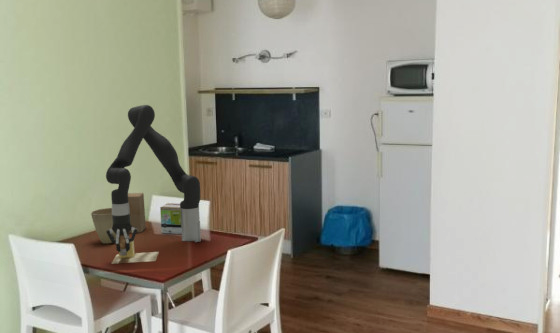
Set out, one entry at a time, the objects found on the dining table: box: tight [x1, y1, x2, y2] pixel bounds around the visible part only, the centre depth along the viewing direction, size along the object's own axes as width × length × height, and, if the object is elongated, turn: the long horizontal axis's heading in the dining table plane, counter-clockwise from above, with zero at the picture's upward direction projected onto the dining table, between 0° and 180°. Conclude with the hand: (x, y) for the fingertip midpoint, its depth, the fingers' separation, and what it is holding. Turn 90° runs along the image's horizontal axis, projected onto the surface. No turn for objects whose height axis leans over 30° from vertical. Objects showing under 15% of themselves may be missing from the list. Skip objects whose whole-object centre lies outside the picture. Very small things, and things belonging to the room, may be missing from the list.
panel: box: [111, 251, 160, 265], centre depth 251 cm, size 19×14×1 cm
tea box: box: [159, 202, 182, 235], centre depth 298 cm, size 15×10×15 cm, turn 77°
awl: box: [119, 235, 127, 256], centre depth 246 cm, size 3×3×9 cm
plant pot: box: [90, 207, 116, 244], centre depth 282 cm, size 15×15×16 cm
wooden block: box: [128, 192, 147, 234], centre depth 302 cm, size 10×10×20 cm
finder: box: [118, 239, 136, 258], centre depth 253 cm, size 6×5×7 cm
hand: (123, 251), depth 246 cm, fingers closed on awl, 3 cm apart
